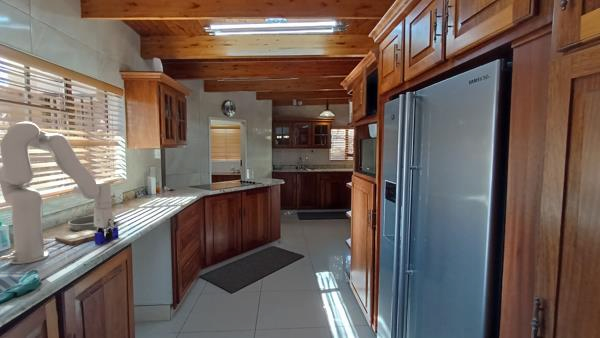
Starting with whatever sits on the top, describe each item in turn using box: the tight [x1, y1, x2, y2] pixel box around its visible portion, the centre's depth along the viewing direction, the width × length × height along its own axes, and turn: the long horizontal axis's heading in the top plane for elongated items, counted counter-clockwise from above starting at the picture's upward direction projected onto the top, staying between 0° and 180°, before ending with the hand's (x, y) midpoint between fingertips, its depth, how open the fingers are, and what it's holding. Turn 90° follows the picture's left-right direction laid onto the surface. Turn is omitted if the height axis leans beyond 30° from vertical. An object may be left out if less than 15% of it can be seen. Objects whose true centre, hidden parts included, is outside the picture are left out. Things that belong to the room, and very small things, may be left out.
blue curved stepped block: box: [94, 226, 119, 246], centre depth 158 cm, size 12×4×6 cm, turn 170°
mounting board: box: [54, 230, 106, 246], centre depth 161 cm, size 16×16×2 cm
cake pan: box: [67, 214, 117, 232], centre depth 187 cm, size 25×25×4 cm
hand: (105, 238), depth 158 cm, fingers open, 6 cm apart
